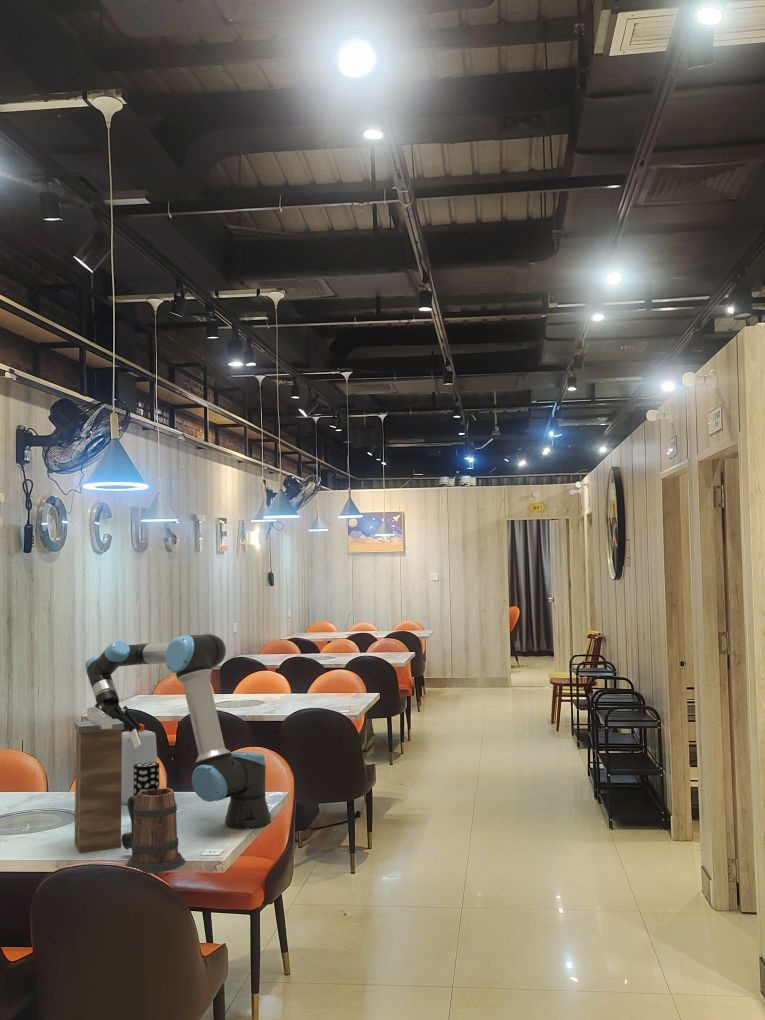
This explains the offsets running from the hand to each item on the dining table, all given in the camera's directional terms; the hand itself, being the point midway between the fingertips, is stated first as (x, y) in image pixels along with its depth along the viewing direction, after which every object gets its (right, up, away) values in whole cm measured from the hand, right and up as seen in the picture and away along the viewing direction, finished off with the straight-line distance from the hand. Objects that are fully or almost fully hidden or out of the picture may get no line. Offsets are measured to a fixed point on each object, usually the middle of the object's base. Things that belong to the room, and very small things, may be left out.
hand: (122, 746), depth 294 cm
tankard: (+23, -19, -50) cm, 59 cm away
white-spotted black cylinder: (+11, -24, -10) cm, 28 cm away
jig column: (+2, -22, -32) cm, 39 cm away
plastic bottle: (-4, -28, +29) cm, 41 cm away
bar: (+1, +15, -28) cm, 32 cm away
